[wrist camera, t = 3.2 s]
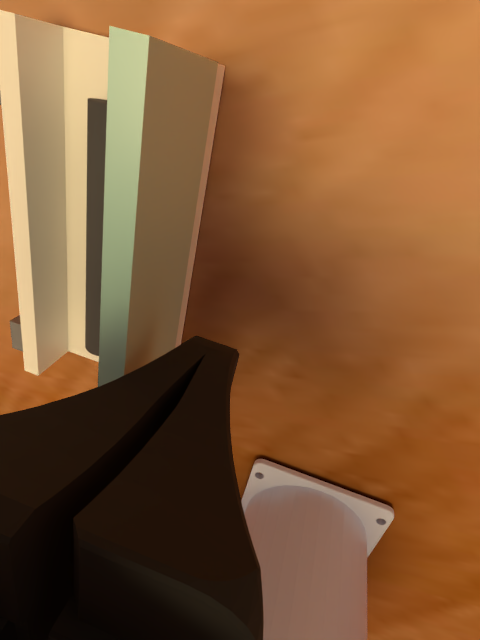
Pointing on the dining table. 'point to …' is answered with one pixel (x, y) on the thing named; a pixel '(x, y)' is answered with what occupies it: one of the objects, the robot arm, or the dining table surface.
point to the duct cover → (149, 194)
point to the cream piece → (58, 179)
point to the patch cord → (94, 218)
